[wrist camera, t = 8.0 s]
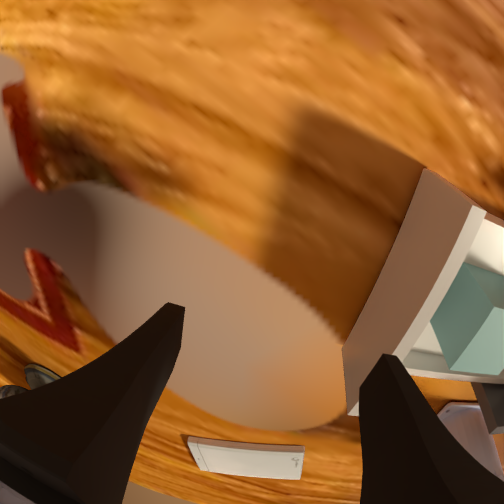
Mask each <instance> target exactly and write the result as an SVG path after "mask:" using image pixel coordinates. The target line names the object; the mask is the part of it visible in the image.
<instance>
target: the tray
mask: <svg viewBox="0 0 504 504" xmlns="http://www.w3.org/2000/svg"><path fill="white" fill-rule="evenodd" d="M463 262H465V263H468V264H471V265H474V266H477V267H480V268H482V269H485V270H488V271H491V272H494V273H496V274H499V275H502V276H504V220H502V219H500V218H498V217H496V216H494V215H492V214H490V213H488V212H487V211H486V210H484V209H483V208H482V207H481V206H479V205H478V204H477V203H476V202H474V201H473V200H472V199H471V198H469V197H468V196H467V195H466V194H464V193H463V192H462V191H460V190H459V189H458V188H456V187H455V186H454V185H452V184H451V183H450V182H448V181H447V180H446V179H444V178H443V177H441V176H440V175H439V174H437V173H436V172H433V171H431V170H428V169H426V168H423V171H422V174H421V177H420V180H419V182H418V185H417V188H416V190H415V193H414V196H413V198H412V201H411V203H410V206H409V208H408V211H407V213H406V216H405V218H404V221H403V223H402V226H401V228H400V230H399V233H398V235H397V237H396V240H395V242H394V244H393V247H392V249H391V251H390V253H389V256H388V258H387V260H386V262H385V264H384V267H383V269H382V271H381V273H380V275H379V277H378V279H377V282H376V284H375V286H374V288H373V290H372V292H371V294H370V296H369V298H368V300H367V302H366V304H365V306H364V308H363V310H362V312H361V314H360V316H359V317H358V319H357V321H356V323H355V325H354V327H353V329H352V331H351V333H350V334H349V336H348V338H347V340H346V342H345V344H344V345H343V347H342V356H343V366H344V376H345V387H346V388H345V389H346V402H347V415H352V416H359V387H360V386H361V384H362V383H363V382H364V380H365V379H366V377H367V376H368V374H369V373H370V372H371V370H372V369H373V367H374V366H375V364H376V363H377V361H378V360H379V358H380V357H381V355H382V354H383V353H384V354H390V355H395V356H397V357H398V358H399V360H400V361H401V362H402V364H403V365H404V367H405V368H406V370H407V371H408V373H409V374H410V375H414V376H422V377H430V378H439V379H448V380H458V381H469V382H481V383H495V384H504V369H503V370H502V371H501V372H500V374H499V375H490V374H480V373H470V372H462V371H453V370H449V368H448V365H447V363H446V360H445V357H444V355H443V352H442V350H441V347H440V345H439V342H438V340H437V337H436V335H435V333H434V330H433V328H432V325H431V323H430V320H431V318H432V316H433V315H434V313H435V311H436V310H437V308H438V306H439V305H440V303H441V301H442V300H443V298H444V296H445V295H446V293H447V291H448V289H449V287H450V286H451V284H452V282H453V280H454V278H455V277H456V275H457V273H458V271H459V269H460V267H461V265H462V263H463Z"/></svg>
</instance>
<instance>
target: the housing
mask: <svg viewBox="0 0 504 504" xmlns="http://www.w3.org/2000/svg"><path fill="white" fill-rule="evenodd" d="M471 384H472V387H473V390H474V392H475V395H476V398H477V400H478V403H479V406H480V409H481V412H482V415H483V417H484V420H485V423H486V426H487V430H488V433H489V435H490V434H501V433H504V384H495V383H481V382H471Z"/></svg>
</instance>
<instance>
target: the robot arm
mask: <svg viewBox="0 0 504 504" xmlns="http://www.w3.org/2000/svg"><path fill="white" fill-rule="evenodd" d="M184 313H185V307H183V306H179V305H176V304H172V303H169V302H168V303H166V304H165V305H164V306H163V307H162V308H160V309H159V310H158V311H157V312H156V313H155V314H154V315H153V316H152V317H151V318H150V319H148V320H147V321H146V322H145V323H144V324H143V325H142V326H140V327H139V328H138V329H137V330H135V331H134V332H133V333H132V334H131V335H129V336H128V337H127V338H125V339H124V340H123V341H121V342H120V343H119V344H117V345H116V346H115V347H113V348H112V349H110V350H109V351H108V352H106V353H105V354H103V355H102V356H100V357H98V358H97V359H95V360H94V361H92V362H90V363H89V364H87V365H85V366H83V367H81V368H80V369H78V370H76V371H74V372H72V373H70V374H68V375H66V376H64V377H62V378H60V379H57V380H55V381H53V382H50V383H48V384H45V385H42V386H40V387H37V388H35V389H32V390H29V391H26V392H22V393H19V394H15V395H12V396H8V397H5V398H0V504H122V500H123V497H124V494H125V490H126V486H127V482H128V480H129V476H130V473H131V469H132V466H133V463H134V460H135V457H136V454H137V451H138V448H139V445H140V442H141V439H142V436H143V433H144V430H145V428H146V425H147V423H148V421H149V418H150V416H151V414H152V412H153V410H154V408H155V406H156V404H157V402H158V400H159V398H160V396H161V394H162V392H163V390H164V388H165V386H166V384H167V381H168V379H169V377H170V375H171V373H172V371H173V368H174V365H175V362H176V359H177V357H178V354H179V351H180V348H181V339H182V330H183V322H184ZM359 423H360V435H361V447H362V460H363V475H362V489H361V498H360V504H504V475H503V471H502V467H501V463H500V460H499V456H498V453H497V449H496V446H495V442H494V439H493V436H492V434H490V435H489V433H488V430H487V426H486V423H485V420H484V417H483V415H482V412H481V409H480V406H479V403H464V402H450V403H448V404H447V405H446V406H445V407H444V408H443V409H442V410H441V411H440V412H439V413H438V414H437V415H436V413H435V412H434V411H433V409H432V408H431V406H430V405H429V403H428V402H427V400H426V399H425V397H424V396H423V394H422V393H421V391H420V390H419V388H418V387H417V385H416V384H415V382H414V380H413V379H412V377H411V376H410V374H409V373H408V371H407V370H406V368H405V367H404V365H403V364H402V362H401V361H400V360H399V358H398V357H397V356H395V355H390V354H384V353H383V354H382V355H381V357H380V358H379V360H378V361H377V363H376V364H375V366H374V367H373V369H372V370H371V372H370V373H369V374H368V376H367V377H366V379H365V380H364V382H363V383H362V384H361V386H360V387H359Z"/></svg>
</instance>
